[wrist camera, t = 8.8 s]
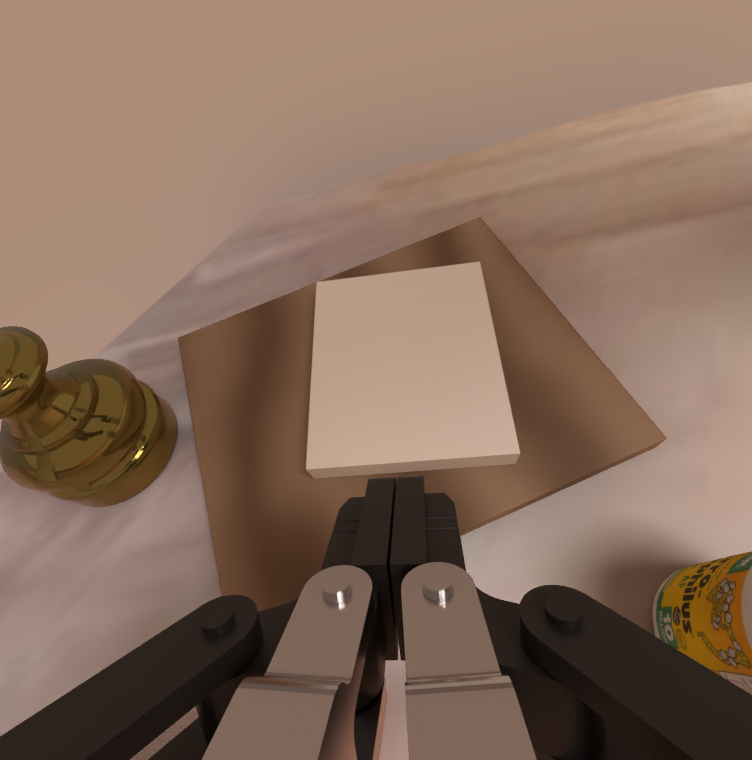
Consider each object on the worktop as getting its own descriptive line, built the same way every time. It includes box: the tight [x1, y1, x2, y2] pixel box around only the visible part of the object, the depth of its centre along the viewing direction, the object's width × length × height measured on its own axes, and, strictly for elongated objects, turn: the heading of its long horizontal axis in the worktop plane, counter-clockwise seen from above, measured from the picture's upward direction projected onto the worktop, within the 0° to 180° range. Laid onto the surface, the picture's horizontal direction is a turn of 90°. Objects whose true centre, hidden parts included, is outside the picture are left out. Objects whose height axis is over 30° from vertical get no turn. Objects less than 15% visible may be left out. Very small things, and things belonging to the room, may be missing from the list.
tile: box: [306, 262, 520, 479], centre depth 23 cm, size 10×2×12 cm
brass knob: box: [0, 326, 177, 507], centre depth 21 cm, size 7×7×10 cm
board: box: [178, 217, 666, 612], centre depth 24 cm, size 22×18×1 cm
